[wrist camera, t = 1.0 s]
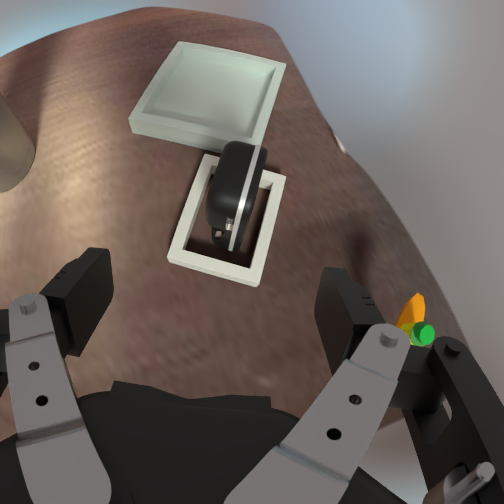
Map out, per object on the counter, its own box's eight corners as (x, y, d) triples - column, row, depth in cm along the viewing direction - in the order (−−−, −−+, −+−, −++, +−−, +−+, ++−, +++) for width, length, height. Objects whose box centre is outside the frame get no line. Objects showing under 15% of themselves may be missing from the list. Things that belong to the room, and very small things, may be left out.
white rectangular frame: (169, 262, 33) (166, 257, 31) (204, 162, 37) (204, 153, 35) (256, 287, 33) (259, 283, 32) (282, 184, 37) (286, 176, 35)
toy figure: (366, 298, 35) (430, 277, 23) (389, 313, 35) (457, 297, 23) (340, 352, 33) (401, 354, 21) (366, 366, 33) (431, 371, 21)
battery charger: (220, 188, 36) (226, 127, 25) (252, 197, 36) (271, 139, 25) (202, 246, 34) (200, 201, 23) (237, 255, 34) (251, 214, 23)
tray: (132, 132, 37) (128, 118, 34) (179, 55, 41) (178, 41, 38) (255, 163, 37) (259, 149, 34) (282, 78, 42) (286, 64, 39)
